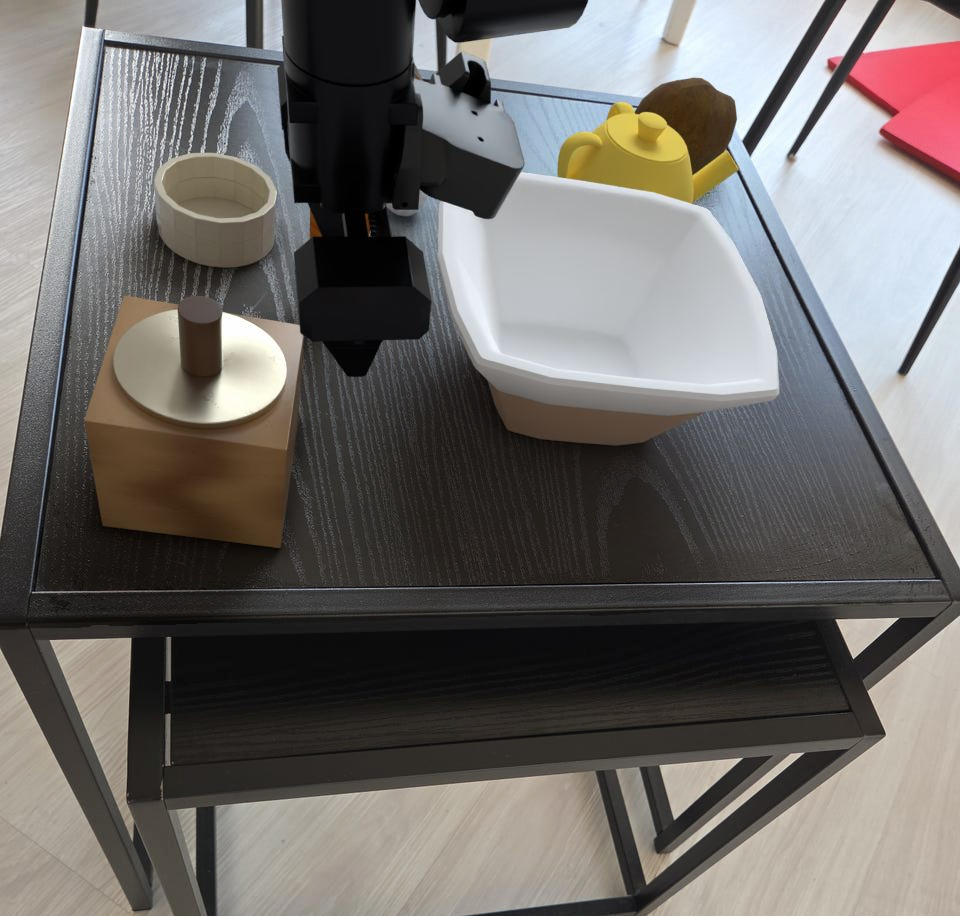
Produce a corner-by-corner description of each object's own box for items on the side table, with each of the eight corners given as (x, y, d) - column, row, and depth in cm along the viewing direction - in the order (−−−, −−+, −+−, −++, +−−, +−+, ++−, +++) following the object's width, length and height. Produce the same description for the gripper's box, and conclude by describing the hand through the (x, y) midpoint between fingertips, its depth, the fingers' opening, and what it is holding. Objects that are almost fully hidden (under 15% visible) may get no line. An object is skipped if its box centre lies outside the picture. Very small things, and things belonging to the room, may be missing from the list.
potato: (735, 197, 98) (774, 113, 91) (632, 187, 95) (664, 100, 88) (709, 151, 103) (744, 67, 95) (609, 140, 99) (638, 53, 92)
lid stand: (102, 526, 59) (83, 420, 51) (136, 404, 65) (123, 294, 58) (280, 548, 61) (287, 450, 53) (297, 428, 67) (304, 325, 60)
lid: (97, 414, 52) (87, 353, 48) (132, 302, 57) (125, 240, 54) (277, 440, 54) (280, 383, 50) (294, 329, 59) (298, 271, 56)
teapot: (645, 306, 84) (696, 190, 75) (519, 233, 86) (552, 112, 77) (706, 242, 92) (758, 130, 83) (589, 177, 94) (627, 61, 85)
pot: (148, 255, 74) (144, 208, 70) (168, 189, 79) (166, 142, 75) (267, 276, 75) (269, 232, 72) (280, 210, 80) (282, 165, 77)
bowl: (741, 510, 72) (809, 407, 63) (425, 487, 66) (453, 371, 58) (676, 309, 85) (725, 200, 76) (406, 276, 79) (426, 154, 71)
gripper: (563, 189, 39) (508, 434, 53) (493, -60, 47) (460, 208, 61) (291, 187, 37) (307, 442, 51) (267, -72, 45) (286, 208, 59)
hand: (349, 315), depth 55 cm, fingers open, 9 cm apart
